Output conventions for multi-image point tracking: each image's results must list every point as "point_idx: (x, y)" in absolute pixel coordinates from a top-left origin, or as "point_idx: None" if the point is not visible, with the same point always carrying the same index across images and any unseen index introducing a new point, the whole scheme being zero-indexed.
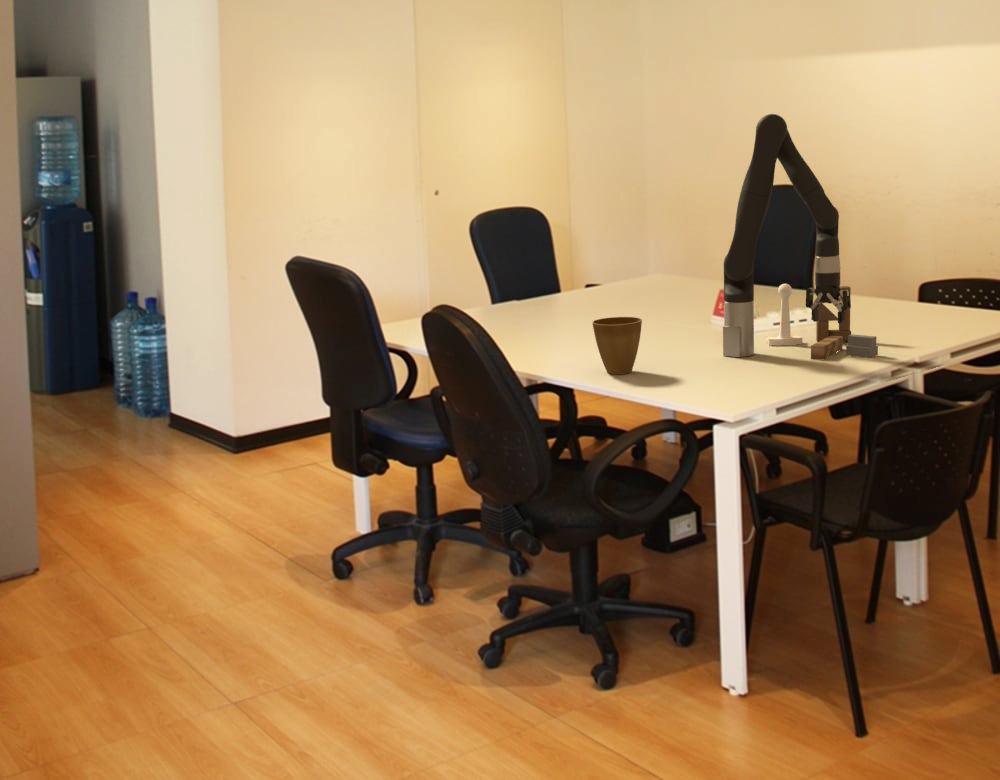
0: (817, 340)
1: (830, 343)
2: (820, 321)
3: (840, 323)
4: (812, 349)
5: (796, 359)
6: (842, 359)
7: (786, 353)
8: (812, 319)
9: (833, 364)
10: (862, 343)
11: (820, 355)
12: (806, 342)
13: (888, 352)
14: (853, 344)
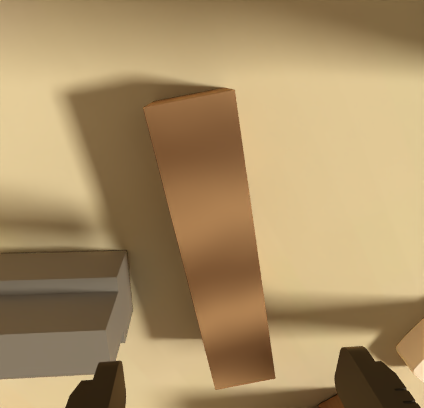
0: None
1: (175, 233)
2: None
3: (101, 364)
4: (220, 91)
5: (290, 38)
6: (82, 164)
7: (396, 161)
8: (380, 362)
9: (27, 6)
10: (21, 306)
11: (169, 99)
12: None
13: None
14: (81, 297)
